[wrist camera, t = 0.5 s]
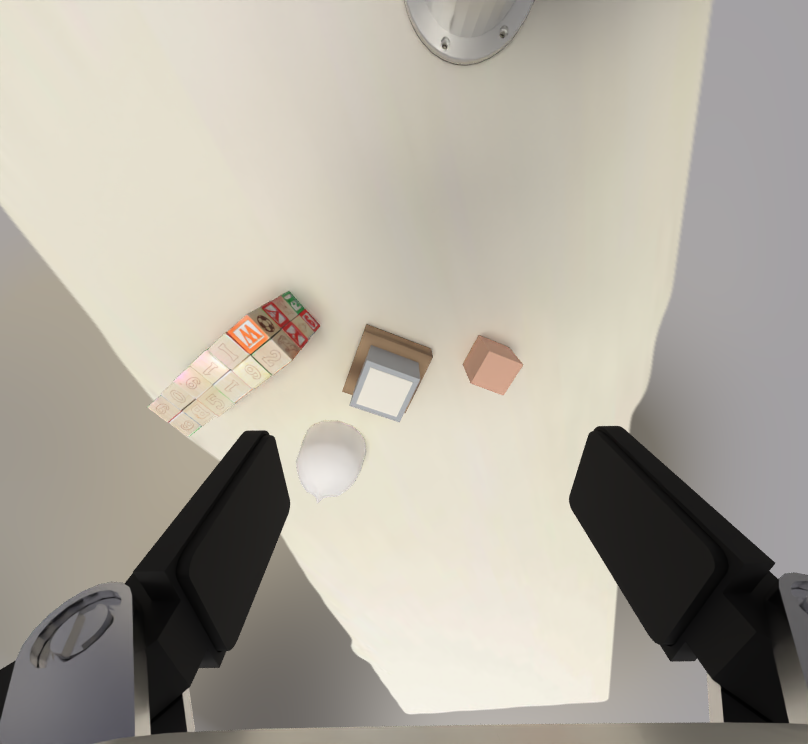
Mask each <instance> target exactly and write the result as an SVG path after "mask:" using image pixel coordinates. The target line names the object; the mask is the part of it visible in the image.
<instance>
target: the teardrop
mask: <svg viewBox="0 0 808 744" xmlns="http://www.w3.org/2000/svg"><path fill="white" fill-rule="evenodd" d="M365 453H366V445H365V439H364V437H363V436H362V434H361V433H360V431H358V430H357V429H356V428H355V427H353V426H352V425H349V424H346V423H343V422H341V421H321V422H319V423H316V424H314V425H313V426H311V427H310V428H309V429H308V430H307V432H306V434H305V437H304V439H303V442H302V445H301V448H300V451H299V454H298V457H297V459H296V466H297V472H298V476H299V480H300V482H301V484H302V486H303V487H304V488H305V490H306V491H307V493H310V494H312V495H314V496H315V497H316V501H317V503H318V502H319V501H321V500H322V499H323V498H326V497H335V496H338V495H340V494H342V493H344V492H345V491H346V490H348V489H349V488H350V487H351V486H352V485H353V484H354V482H355V481H356V479H357V477H358V475H359V473H360V471H361V468H362V464H363V461H364V457H365Z"/></svg>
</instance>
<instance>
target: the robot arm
mask: <svg viewBox="0 0 808 744" xmlns="http://www.w3.org/2000/svg"><path fill="white" fill-rule="evenodd" d="M404 1H405V5H406V9H407V12H408V16H409V18H410V20H411V23H412V25H413V27H414V29H415V31H416V33H417V34H418V36H419V37H420V39H421V40H422V42H423V43H424V44H425V45H426V46H427V47H428V48H429V49H430V50H431V51H432V52H433V53H434V54H435V55H437V56H438V57H440V58H442V59H443V60H446V61H448V62H451V63H454V64H465V65H468V64H473V63H479V62H481V61H483V60H486V59H488V58H490V57H492V56H493V55H495V54H496V53H497V52H499V51H500V50H502V49H503V48H504V47H505V46H506V45H507V44H508V42H509V41H510V40H511V39H512V38H513V37H514V36H515V34H516V33H517V31H518V30H519V28H520V27H521V25H522V24H523V22H524V20H525V18H526V17H527V15H528V13H529V11H530V9H531V7H532V4H533V2H534V0H404ZM500 34H503V36H504V38H501V37H500ZM443 45H446V46H447V49H443V48H442V46H443ZM569 503H570V507H571V509H572V511H573V512H574V514H575V516H576V517H577V519H578V521H579V522H580V524H581V526H582V527H583V529H584V530H585V532H586V534H587V535H588V537H589V539H590V540H591V542H592V544H593V545H594V547H595V548H596V550H597V552H598V553H599V555H600V557H601V558H602V560H603V561H604V563H605V565H606V566H607V568H608V570H609V571H610V573H611V575H612V576H613V578H614V579H615V581H616V583H617V584H618V586H619V588H620V589H621V591H622V593H623V594H624V596H625V597H626V599H627V600H628V602H629V604H630V606H631V607H632V609H633V611H634V612H635V614H636V615H637V617H638V618H639V620H640V622H641V624H642V625H643V627H644V628H645V630H646V632H647V633H648V635H649V636H650V638H651V639H652V640H653V641H654V642H655V643H657V644H659V645H660V646H661V647H662V649H663V650H664V652H665V654H666V655H667V657H668V658H669V660H670V661H695V660H696V659H697V658H698V660H699V661H700V663H701V664H702V665H703V667H704V668H705V670H706V671H707V683H708V700H709V714H710V723H608V724H607V723H602V724H601V723H600V724H599V723H598V724H519V725H453V726H451V725H450V726H449V725H447V726H393V727H392V726H386V727H336V728H291V729H290V728H286V729H250V730H228V731H204V732H195V728H194V720H193V714H192V707H191V699H190V693H189V687H190V686H191V683H192V681H193V679H194V677H195V675H196V673H197V671H198V668H219V667H220V665H221V663H222V660H223V658H224V655H225V653H226V651H229V650H231V649H232V648H233V647H234V645H235V644H236V642H237V640H238V637H239V635H240V632H241V630H242V627H243V625H244V622H245V620H246V617H247V615H248V612H249V610H250V607H251V605H252V602H253V600H254V597H255V595H256V592H257V590H258V587H259V585H260V583H261V580H262V578H263V575H264V573H265V570H266V568H267V565H268V563H269V560H270V558H271V555H272V553H273V550H274V548H275V545H276V543H277V541H278V538H279V536H280V533H281V531H282V528H283V526H284V523H285V521H286V518H287V516H288V513H289V509H290V498H289V494H288V490H287V486H286V482H285V478H284V474H283V469H282V465H281V461H280V457H279V453H278V449H277V445H276V440H275V437H274V436H272V435H269V433H268V432H267V431H245V432H244V433H243V434H242V435H241V436H240V437H239V439H238V440H237V441H236V442H235V444H234V445H233V446H232V447H231V449H230V450H229V451H228V452H227V454H226V455H225V456H224V457H223V459H222V460H221V461H220V463H219V464H218V465H217V466H216V468H215V469H214V470H213V471H212V473H211V474H210V475H209V477H208V478H207V479H206V480H205V481H204V483H203V484H202V485H201V487H200V488H199V489H198V490H197V492H196V493H195V494H194V495H193V497H192V498H191V500H189V502H188V503H187V504H186V506H185V507H184V508H183V509H182V511H181V512H180V513H179V514H178V516H177V517H176V518H175V519H174V521H173V522H172V523H171V524H170V526H169V527H168V528H167V530H166V531H165V532H164V533H163V535H162V536H161V537H160V538H159V540H158V541H157V542H156V543H155V545H154V546H153V547H152V548H151V550H150V551H149V552H148V554H147V555H146V556H145V557H144V559H143V560H142V561H141V562H140V564H139V565H138V566H137V568H136V569H135V570H134V571H133V574H132V575H131V576H130V578H129V579H128V580H127V581H126V583H125V584H124V583H121V582H108V583H104V584H99V585H97V586H94V587H92V588H89V589H87V590H85V591H82V592H81V593H79V594H77V595H76V596H74V597H72V598H71V599H69V600H68V601H66V602H64V603H63V604H62V605H61V606H59V607H58V608H57V609H55V610H54V611H53V612H52V613H50V614H49V615H48V616H47V617H46V618H45V619H44V620H43V621H42V622H41V623H40V624H39V625H38V626H37V627H36V628H35V629H34V630H33V632H32V633H31V634H30V636H29V637H28V638H27V640H26V641H25V643H24V644H23V645H22V648H21V650H20V652H19V654H18V657H17V659H16V661H14V662H13V663H11V664H9V665H7V666H6V667H4V668H3V669H1V670H0V744H808V575H805V574H800V573H787V574H784V575H782V576H781V577H780V578H779V579H777V578H776V577H775V576H774V575H773V574H772V573H771V572H770V571H769V570H770V569H771V568H772V567H773V565H774V564H775V562H774V561H772V560H771V559H770V558H769V557H768V556H767V555H766V554H765V553H763V552H762V551H761V550H760V549H759V548H758V547H757V546H756V545H754V544H753V543H752V542H751V541H750V540H749V539H748V538H747V537H745V536H744V535H743V534H742V533H741V532H740V531H739V530H737V529H736V528H735V527H734V526H733V525H732V524H731V523H729V522H728V521H727V520H726V519H725V518H724V517H723V516H722V515H721V514H719V513H718V512H717V511H716V510H715V509H714V508H713V507H712V506H710V505H709V504H708V503H707V502H706V501H705V500H704V499H703V498H701V497H700V496H699V495H698V494H697V493H696V492H695V491H694V490H692V489H691V488H690V487H689V486H688V485H687V484H686V483H684V482H683V481H682V480H681V479H680V478H679V477H678V476H677V475H675V474H674V473H673V472H672V471H671V470H670V469H669V468H668V467H666V466H665V465H664V464H663V463H662V462H661V461H660V460H659V459H657V458H656V457H655V456H654V455H653V454H652V453H651V452H650V451H648V450H647V449H646V448H645V447H644V446H643V445H642V444H640V443H639V442H638V441H637V440H636V439H635V438H634V437H633V436H631V435H630V434H629V433H628V432H627V431H626V430H625V429H623V428H622V427H620V426H599V427H596V428H595V429H594V431H592V432H590V433H589V435H588V438H587V441H586V445H585V448H584V451H583V454H582V457H581V461H580V464H579V467H578V470H577V473H576V477H575V480H574V483H573V486H572V490H571V493H570V496H569Z"/></svg>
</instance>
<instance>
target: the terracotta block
mask: <svg viewBox="0 0 808 744" xmlns="http://www.w3.org/2000/svg"><path fill="white" fill-rule="evenodd" d="M463 366H464V368H465V371H466V373H467V376H468V378H469V380H470V383H471V384H474V385H477V386H479V387H482V388H485V389H487V390H490V391H493V392H495V393H498V394H501V395H504V394H505V392H506V391H507V389H508V388H509V386H510V385H511V383H512V381H513V380H514V378H515V377H516V375H517V374H518V372H519V371H520V369H521V368H522V366H523V364H522V362H521V361H520V360H519V359H518V358H517V356H516V355H515V354H514V353H513V352H512V350H511V349H510V348H509V347H507V346H504V345H502V344H499V343H497V342H495V341H492V340H490V339H487V338H485V337H482V336H480V335H479V336H478V337H477V339H476V341H475V343H474V345H473V347H472V348H471V350H470V352H469V354H468V356H467V358H466V359H465V361H464V363H463Z"/></svg>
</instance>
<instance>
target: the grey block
mask: <svg viewBox="0 0 808 744" xmlns="http://www.w3.org/2000/svg"><path fill="white" fill-rule="evenodd" d="M419 381H420V372H419V363H418V362H416V361H413V360H410V359H408V358H405V357H402V356H399V355H397V354H394V353H391V352H389V351H386V350H383V349H381V348H378V347H375V346H373V345H371V346H370V349H369V351H368V354H367V357H366V359H365V362H364V365H363V367H362V370H361V372H360V375H359V378H358V380H357V383H356V386H355V389H354V392H353V395H352V399H351V402H350V406H352V407H355V408H358V409H361V410H364V411H367V412H370V413H373V414H376V415H379V416H382V417H385V418H388V419H391V420H394V421H397V422H400V420H401V418H402V416H403V414H404V412H405V410H406V408H407V406H408V404H409V402H410V400H411V398H412V396H413V394H414V391H415V389H416V387H417V385H418V383H419Z"/></svg>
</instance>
